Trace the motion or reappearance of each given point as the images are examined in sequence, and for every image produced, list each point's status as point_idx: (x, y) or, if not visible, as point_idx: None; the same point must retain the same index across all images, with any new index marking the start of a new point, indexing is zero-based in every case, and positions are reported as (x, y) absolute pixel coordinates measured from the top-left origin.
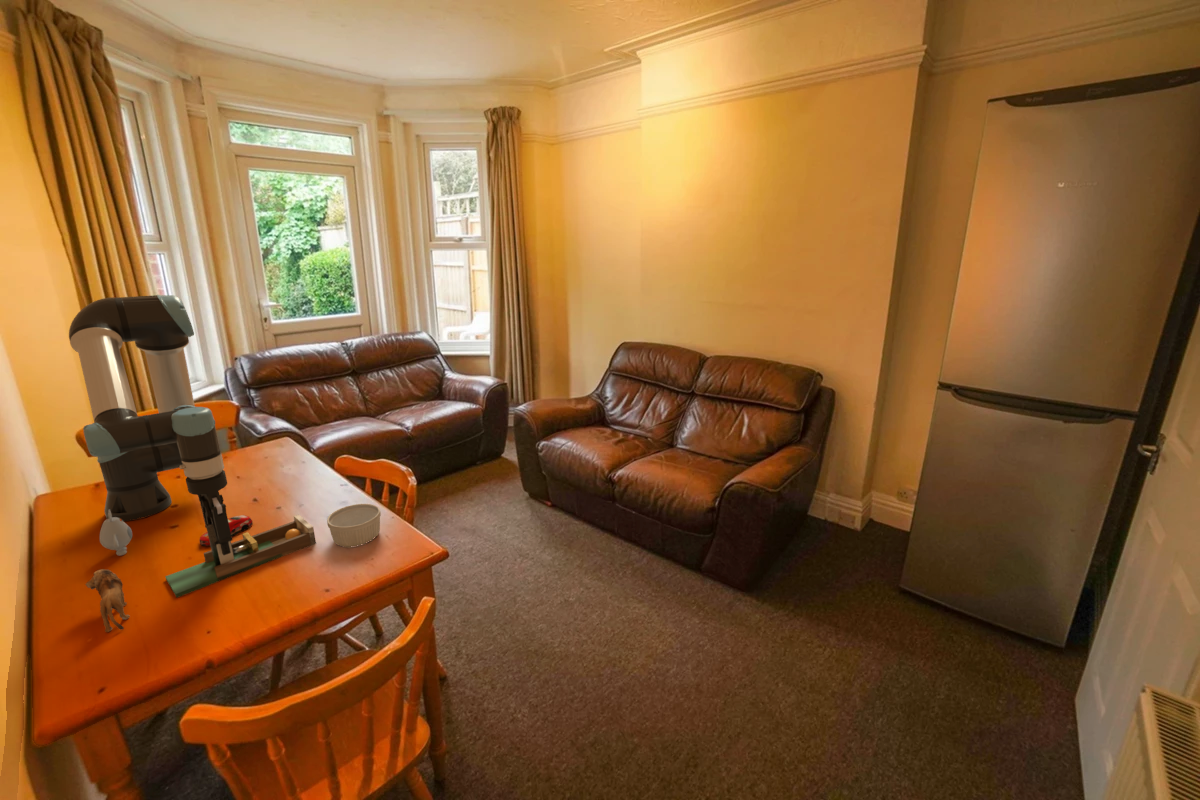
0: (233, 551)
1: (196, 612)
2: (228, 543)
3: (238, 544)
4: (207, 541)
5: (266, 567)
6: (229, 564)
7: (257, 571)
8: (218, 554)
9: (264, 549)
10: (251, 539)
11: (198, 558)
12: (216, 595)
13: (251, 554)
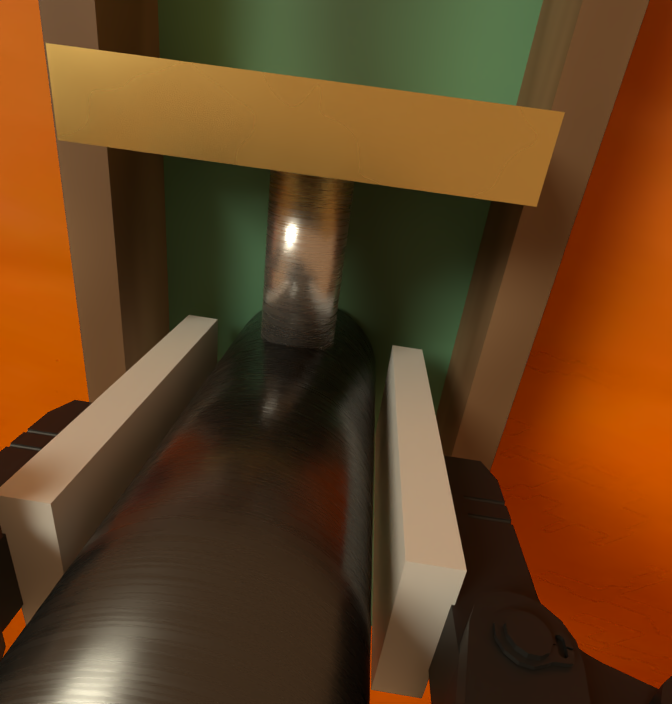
0: (326, 343)
1: (649, 618)
2: (533, 590)
3: (126, 197)
4: None
5: (629, 143)
6: (498, 438)
7: (606, 229)
8: (375, 522)
9: (601, 61)
10: (384, 132)
11: (13, 392)
12: (601, 515)
13: (547, 237)
